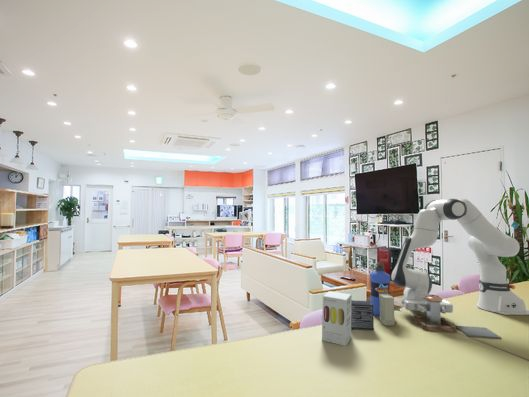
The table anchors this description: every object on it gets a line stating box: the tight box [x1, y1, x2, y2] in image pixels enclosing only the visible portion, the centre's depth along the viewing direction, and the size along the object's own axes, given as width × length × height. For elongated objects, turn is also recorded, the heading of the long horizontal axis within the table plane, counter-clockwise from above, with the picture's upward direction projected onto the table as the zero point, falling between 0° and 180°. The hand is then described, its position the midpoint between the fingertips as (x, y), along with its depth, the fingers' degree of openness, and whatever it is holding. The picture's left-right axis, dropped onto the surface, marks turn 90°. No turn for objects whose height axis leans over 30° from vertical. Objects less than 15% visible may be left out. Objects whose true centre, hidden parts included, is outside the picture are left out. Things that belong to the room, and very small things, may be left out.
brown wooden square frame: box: [412, 315, 457, 333], centre depth 129 cm, size 13×13×2 cm
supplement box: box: [321, 290, 352, 347], centre depth 113 cm, size 10×9×17 cm
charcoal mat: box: [455, 325, 502, 340], centre depth 122 cm, size 12×10×1 cm
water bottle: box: [369, 261, 391, 318], centre depth 143 cm, size 9×9×25 cm
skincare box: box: [379, 293, 395, 326], centre depth 131 cm, size 6×4×12 cm
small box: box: [351, 299, 375, 331], centre depth 126 cm, size 11×6×10 cm, turn 84°
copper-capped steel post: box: [425, 294, 443, 326], centre depth 129 cm, size 6×6×12 cm
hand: (434, 311), depth 128 cm, fingers open, 6 cm apart
